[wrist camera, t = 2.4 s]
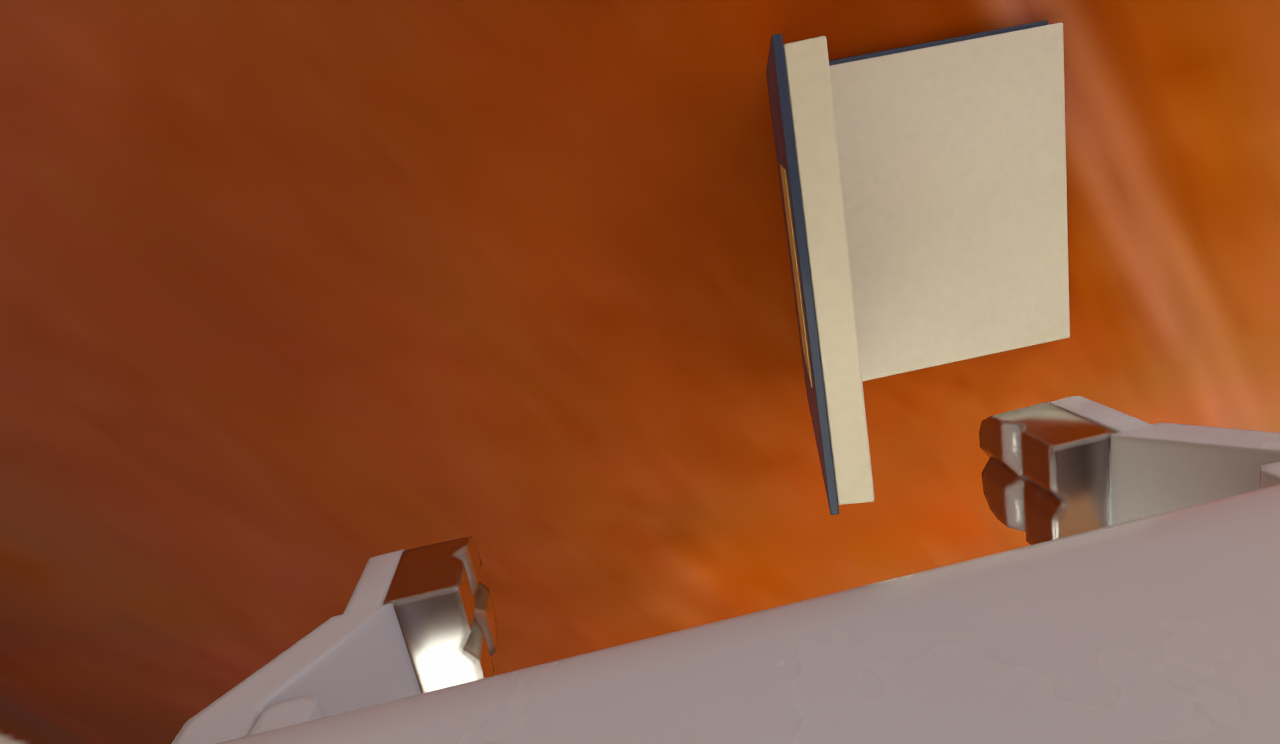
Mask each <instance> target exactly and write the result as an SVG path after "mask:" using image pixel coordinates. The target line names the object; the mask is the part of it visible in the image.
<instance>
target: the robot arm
mask: <svg viewBox="0 0 1280 744" xmlns="http://www.w3.org/2000/svg"><path fill="white" fill-rule="evenodd" d="M979 437H980V448H981V449H982V450H983V451H984V452H985V453H986V454H987V455H988V456H989V457H990V459H989V461H988V462H987V464H986V466H985V468H984V470H983V472H982V481H983V490H984V495H985V497H986V500H987V502H988V505H989V507H990V509H991V511H992V512H993V513H994V515H995V516H996V517H997V519H998V520H1000V521H1001V522H1002V523H1003V524H1005V525H1006V526H1007V527H1009V528H1013V529H1017V530H1021V531H1025V532H1026V539H1027V542H1028V543H1030V544H1031V545H1030V546H1025V547H1021V548H1017V549H1013V550H1009V551H1005V552H1001V553H997V554H993V555H989V556H984V557H980V558H976V559H972V560H968V561H964V562H960V563H956V564H952V565H947V566H943V567H939V568H935V569H931V570H927V571H923V572H919V573H915V574H910V575H906V576H902V577H898V578H894V579H890V580H886V581H882V582H878V583H873V584H869V585H865V586H861V587H857V588H853V589H849V590H845V591H841V592H837V593H832V594H828V595H824V596H820V597H816V598H812V599H808V600H804V601H800V602H795V603H791V604H787V605H783V606H779V607H775V608H771V609H767V610H763V611H758V612H754V613H750V614H746V615H742V616H738V617H734V618H730V619H726V620H721V621H717V622H713V623H709V624H705V625H701V626H697V627H693V628H689V629H684V630H680V631H676V632H672V633H668V634H664V635H660V636H656V637H652V638H648V639H643V640H639V641H635V642H631V643H627V644H623V645H619V646H615V647H611V648H606V649H602V650H598V651H594V652H590V653H586V654H582V655H578V656H574V657H569V658H565V659H561V660H557V661H553V662H549V663H545V664H541V665H537V666H532V667H528V668H524V669H520V670H516V671H512V672H508V673H504V674H500V675H496V676H494V667H493V664H492V660H491V656H492V655H493V654H494V653H495V652H496V650H497V626H496V617H495V612H494V607H493V602H492V598H491V594H490V591H489V588H487V587H486V586H485V585H483V584H482V583H481V582H479V578H480V571H481V565H482V562H481V559H480V555H479V552H478V549H477V546H476V543H475V541H474V539H473V538H472V536H469V537H465V538H460V539H455V540H451V541H446V542H441V543H436V544H432V545H427V546H422V547H418V548H413V549H408V550H404V549H403V550H399V551H395V552H391V553H387V554H384V555H380V556H376V557H372V558H369V560H368V562H367V564H366V566H365V568H364V570H363V572H362V575H361V577H360V579H359V581H358V583H357V585H356V587H355V590H354V592H353V594H352V596H351V598H350V600H349V602H348V604H347V607H346V609H345V611H344V613H343V614H342V615H338V616H334V617H331V618H330V619H329V620H327V621H326V622H325V623H323V624H322V625H320V626H319V627H318V628H316V629H315V630H313V631H312V632H311V633H309V634H308V635H306V636H305V637H304V638H302V639H301V640H299V641H298V642H297V643H295V644H294V645H293V646H291V647H290V648H288V649H287V650H286V651H284V652H283V653H281V654H280V655H279V656H277V657H276V658H274V659H273V660H272V661H270V662H269V663H267V664H266V665H265V666H263V667H262V668H261V669H259V670H258V671H256V672H255V673H254V674H252V675H251V676H249V677H248V678H247V679H245V680H244V681H242V682H241V683H240V684H238V685H237V686H235V687H234V688H233V689H231V690H230V691H228V692H227V693H226V694H224V695H223V696H222V697H220V698H219V699H217V700H216V701H215V702H213V703H212V704H210V705H209V706H208V707H206V708H205V709H203V710H202V711H201V712H199V713H198V714H196V715H195V716H194V717H192V718H191V719H190V720H188V721H187V722H185V724H184V726H183V727H182V729H181V730H180V732H179V733H178V735H177V736H176V738H175V739H174V741H173V742H172V744H1280V433H1276V432H1264V431H1253V430H1241V429H1230V428H1218V427H1207V426H1195V425H1184V424H1172V423H1158V424H1154V425H1152V424H1149V423H1147V422H1144V421H1142V420H1139V419H1137V418H1134V417H1132V416H1129V415H1127V414H1124V413H1122V412H1119V411H1117V410H1114V409H1112V408H1109V407H1107V406H1104V405H1102V404H1099V403H1097V402H1094V401H1092V400H1089V399H1087V398H1084V397H1082V396H1071V397H1067V398H1063V399H1060V400H1056V401H1053V402H1049V403H1048V402H1045V403H1041V404H1037V405H1033V406H1029V407H1025V408H1021V409H1018V410H1014V411H1010V412H1006V413H1002V414H998V415H994V416H990V417H988V418H987V419H985V420H983V421H982V423H981V427H980V431H979Z"/></svg>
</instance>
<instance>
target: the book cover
mask: <svg viewBox="0 0 1280 744" xmlns="http://www.w3.org/2000/svg"><path fill="white" fill-rule="evenodd" d="M766 74H767V82H768V90H769V98H770V106H771V114H772V122H773V129H774V137H775V145H776V153H777V161H778V169H779V177H780V185H781V192H782V200H783V208H784V216H785V224H786V232H787V240H788V248H789V256H790V263H791V271H792V279H793V287H794V295H795V303H796V311H797V319H798V326H799V334H800V342H801V350H802V358H803V366H804V374H805V382H806V390H807V397H808V402H809V407H810V412H811V417H812V422H813V428H814V433H815V438H816V443H817V448H818V453H819V458H820V463H821V468H822V473H823V478H824V483H825V488H826V493H827V498H828V504H829V509H830V514H831V515H836V514H839V508H838V504H840V505H842V504H853V503H864V502H873V501H874V489H873V480H872V470H871V460H870V451H869V441H868V432H867V422H866V413H865V403H864V393H863V384H862V374H861V365H860V355H859V346H858V336H857V326H856V317H855V307H854V298H853V288H852V279H851V269H850V259H849V250H848V240H847V231H846V221H845V212H844V202H843V192H842V183H841V173H840V164H839V154H838V145H837V135H836V125H835V116H834V106H833V97H832V87H831V78H830V68H829V58H828V49H827V39H826V37H825V36H820V37H816V38H811V39H806V40H802V41H797V42H792V43H788V44H785V45H784V46H783V40H782V34H776V35H772V38H771V44H770V51H769V57H768V63H767V70H766Z"/></svg>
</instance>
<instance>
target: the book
mask: <svg viewBox="0 0 1280 744" xmlns="http://www.w3.org/2000/svg"><path fill="white" fill-rule="evenodd" d="M829 68H830V78H831V87H832V97H833V106H834V116H835V125H836V135H837V145H838V154H839V164H840V173H841V183H842V192H843V202H844V212H845V221H846V231H847V240H848V250H849V259H850V269H851V279H852V288H853V298H854V307H855V317H856V326H857V336H858V346H859V355H860V365H861V374H862V381H867V380H872V379H876V378H881V377H886V376H890V375H895V374H900V373H905V372H909V371H914V370H919V369H923V368H928V367H933V366H938V365H942V364H947V363H952V362H956V361H961V360H966V359H970V358H975V357H980V356H985V355H989V354H994V353H999V352H1003V351H1008V350H1013V349H1018V348H1022V347H1027V346H1032V345H1036V344H1041V343H1046V342H1051V341H1055V340H1060V339H1065V338H1069V337H1070V319H1069V274H1068V228H1067V183H1066V138H1065V93H1064V47H1063V23H1056V24H1050V25H1048V21H1047V20H1046V21H1041V22H1036V23H1030V24H1025V25H1019V26H1014V27H1009V28H1003V29H998V30H993V31H987V32H982V33H977V34H971V35H966V36H961V37H955V38H950V39H944V40H939V41H934V42H928V43H923V44H918V45H912V46H907V47H902V48H896V49H891V50H885V51H880V52H875V53H869V54H864V55H859V56H853V57H848V58H843V59H837V60H832V61H829Z"/></svg>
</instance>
